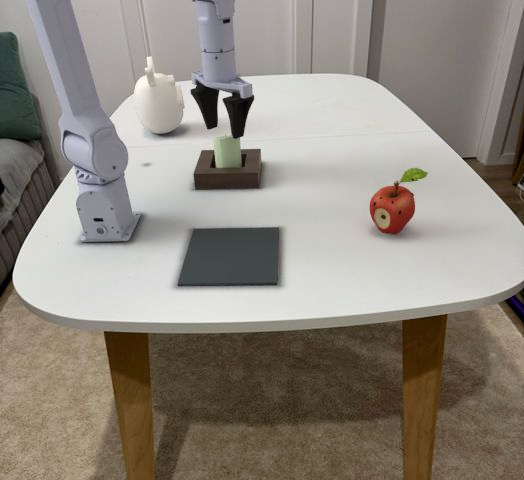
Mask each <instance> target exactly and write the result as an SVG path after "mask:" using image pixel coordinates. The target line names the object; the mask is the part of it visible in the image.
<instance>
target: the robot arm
mask: <svg viewBox="0 0 524 480" xmlns="http://www.w3.org/2000/svg"><path fill="white" fill-rule="evenodd" d="M24 1H25V4H26V7H27V10H28V12H29V13H28V14H29V16H30V19H31V22H32V25H33V29H34V31H35V34H36V37H37V40H38V43H39V46H40V49H41V51H42V52H41V53H42V55H43V58H44V60H45V63H46V66H47V69H48V72H49V76H50V78H51V81H52V84H53V87H54V91H55V93H56V97H57V99H58V102H59V105H60V107H61V111H62V114H61V116H60V118H59V119H58V121H57V124H58V127H59V131H60V151H61V154H62V156H63V158H64V159H65V161H67V162H68V163H69V164H70V165H72V166H73V168H74V171H75V173H74V174H75V177H76V181H77V184H78V190H79V191H78V195H77V197H76V201H75V208H76V212H77V215H78V217H79V221H80V224H81V225H80V226H81V228H82V232H83V233H82V235H81V236H80V238H79V240H80V242H82V243H85V242H86V243H89V242H91V243H93V242H94V243H95V242H96V243H98V242H128V241H130V239H131V237H132V235H133V233H134V231H135V229H136V226H137V225H138V222H139V220H140V218H141V216H142V213H141V212H140V211H133V208H132V204H131V199H130V196H129V191H128V185H127V182H126V177H125V176H126V174H125V171H126V170H127V167H128V164H129V151H128V149H127V146H126V145H125V143H124V142H123V140H122V139H121V138H120V137H119V135H118V132H117V129H116V125H115V124H114V122H113V121H112V120H111V119H110V117H109V116H108V115H107V113H106V112H105V111H104V109H103V108H102V106H101V102H100V99H99V95H98V92H97V88H96V85H95V80H94V78H93V74H92V71H91V67H90V64H89V60H88V56H87V53H86V49H85V46H84V43H83V38H82V35H81V33H80V29H79V25H78V22H77V18H76V15H75V12H74V11H75V10H74V8H73V3H72V1H71V0H24ZM191 2H194V3H195V7H196V8H195V9H196V18H197V19H196V20H197V26H198V36H199V37H198V38H199V46H200V56H201V66H202V70H197V71H192V72H190V75H191V77H190V78H191V84H192V85H193V86H195V87H194V88H191V89H190V95H191V96H192V97H193V99H194V101H195V102H196V105H197V106H198V108H199V111H200V113H201V116H202V118H203V122H204V125H205V128H206V130H209V131H210V130H212V129H216V128H218V125H219V124H218V123H219V112H218V105H219V104H218V103H219V96H220V91H221V92H225V93H228V94H231V95H230V96H226V97H223V98H222V104H223V105H224V107H225V109H226V111H227V115H228V119H229V125H230V126H229V127H230V132H231V135H232V136H233V138H234V139H237V138H240V139H241V138H242V137H244V135H245V129H246V125H247V119H248V115H249V113H250V109H251V107H252V105H253V103H254V101H255V95H254V94H253V83H250V82H248V81H245V80H244V79H243V78H241V73H238V72H237V63H236V61H237V60H236V49H235V47H236V45H235V33H234V18H233V17H234V16H235V14H234V13H236V8H235V4H236V3H235V2H236V0H191Z"/></svg>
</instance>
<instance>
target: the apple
mask: <svg viewBox="0 0 524 480" xmlns="http://www.w3.org/2000/svg"><path fill="white" fill-rule="evenodd" d="M428 174H429V172H427V171H424V170H423V169H422V168H419V167H415V168H414V167H411V168H408V169H407V170H405V171H404V173H403V174H402V176H401V179H400V180H399V181H398V180H395V181H394V182H393V185H387V186H384V187H382V188H380V189H378V191H376V192H375V193H374V194H373V195H372V197H371V199H370V201H369V208H368V209H369V214H370V218H371V219H372V221H373V223H374V225H375V227H376V228H377V229H378V231H379V232H380V233H383V234H388V235H392V236H393V235H398V234H399V233H400V232H402V230H403V229H404V228H405V227H406V226H407V224H409V222H410V221H411V220H412V219H413V217H414V215H415V212H416V201H415V198H414V197H415V194H414V193H413V192H411V191H410V189H408V188H407V187H405V186H403V185H400V184H402V183H412V182H417V181H419V180H423V179H425V178H427V176H428Z"/></svg>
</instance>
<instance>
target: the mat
mask: <svg viewBox="0 0 524 480" xmlns="http://www.w3.org/2000/svg"><path fill="white" fill-rule="evenodd" d="M279 232H280V227H279V226H273V227H268V226H265V227H262V226H261V227H211V228H210V227H208V228H207V227H206V228H205V227H204V228H203V227H202V228H193V229H192V233H191V237H190V240H189V243H188V246H187V249H186V254H185V257H184V260H183V264H182V267H181V269H180V273H179V277H178V280H177V286H179V287H186V286H187V287H190V286H191V287H192V286H194V287H197V286H200V287H201V286H277V285H278V270H279V269H278V267H279V239H280V238H279V237H280V233H279Z"/></svg>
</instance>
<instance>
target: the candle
mask: <svg viewBox="0 0 524 480" xmlns="http://www.w3.org/2000/svg"><path fill="white" fill-rule="evenodd" d="M212 140H213V150H214V152H215V162H216V168H232V167H242V162H241V149H242V148H241V137H240V138H237V139H234V138H233V136H232V134H231V135H227V134H225V135H224V136H218V137H214V138H213V139H212Z"/></svg>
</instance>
